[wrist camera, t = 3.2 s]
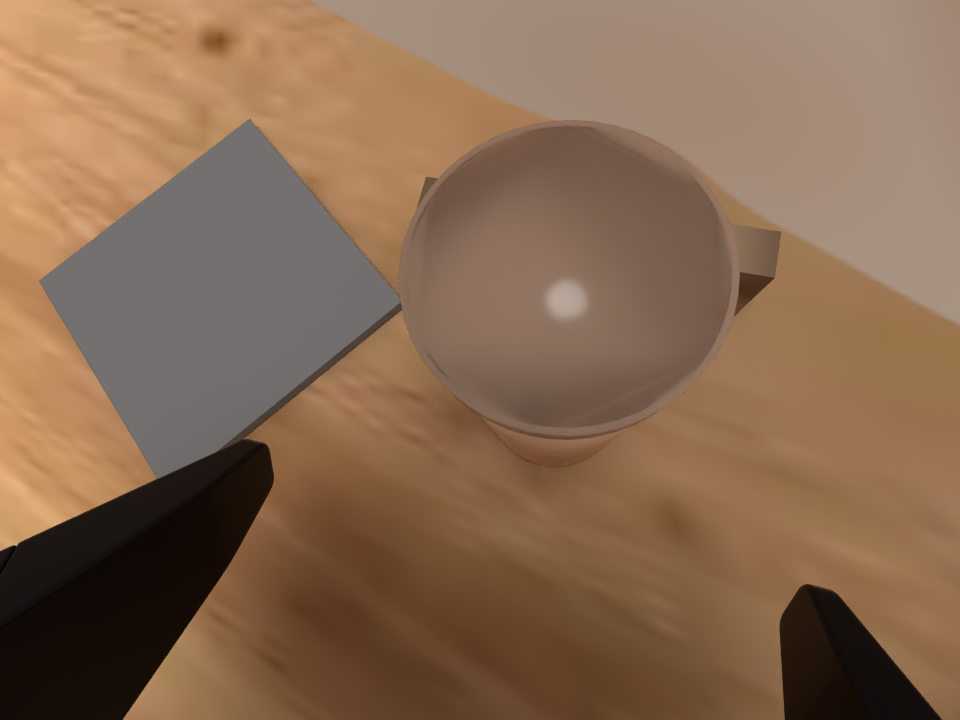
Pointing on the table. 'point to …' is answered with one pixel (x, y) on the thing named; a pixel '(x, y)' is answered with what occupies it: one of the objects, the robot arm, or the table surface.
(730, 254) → the terracotta jar
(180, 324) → the dark grey mat
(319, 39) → the table surface
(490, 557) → the table surface
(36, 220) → the table surface
